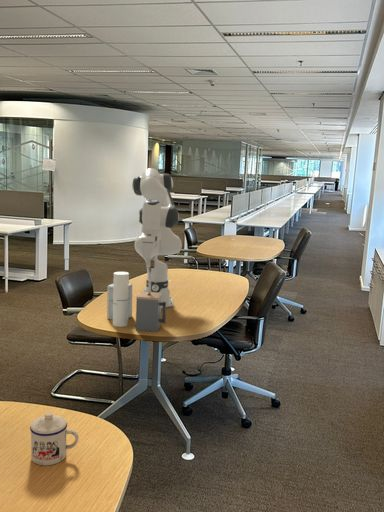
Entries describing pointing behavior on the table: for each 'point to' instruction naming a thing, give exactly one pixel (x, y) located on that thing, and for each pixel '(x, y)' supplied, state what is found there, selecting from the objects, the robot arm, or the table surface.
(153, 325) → the press jug
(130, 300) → the supplement box
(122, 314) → the cylindrical container
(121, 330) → the table surface
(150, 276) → the plunger
